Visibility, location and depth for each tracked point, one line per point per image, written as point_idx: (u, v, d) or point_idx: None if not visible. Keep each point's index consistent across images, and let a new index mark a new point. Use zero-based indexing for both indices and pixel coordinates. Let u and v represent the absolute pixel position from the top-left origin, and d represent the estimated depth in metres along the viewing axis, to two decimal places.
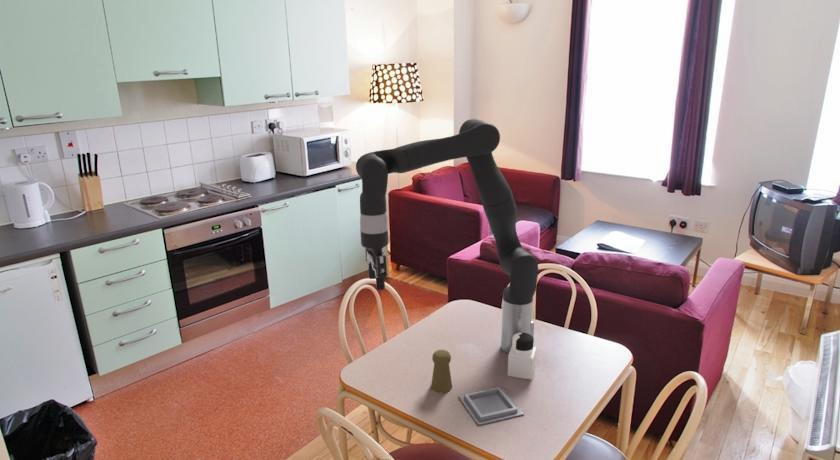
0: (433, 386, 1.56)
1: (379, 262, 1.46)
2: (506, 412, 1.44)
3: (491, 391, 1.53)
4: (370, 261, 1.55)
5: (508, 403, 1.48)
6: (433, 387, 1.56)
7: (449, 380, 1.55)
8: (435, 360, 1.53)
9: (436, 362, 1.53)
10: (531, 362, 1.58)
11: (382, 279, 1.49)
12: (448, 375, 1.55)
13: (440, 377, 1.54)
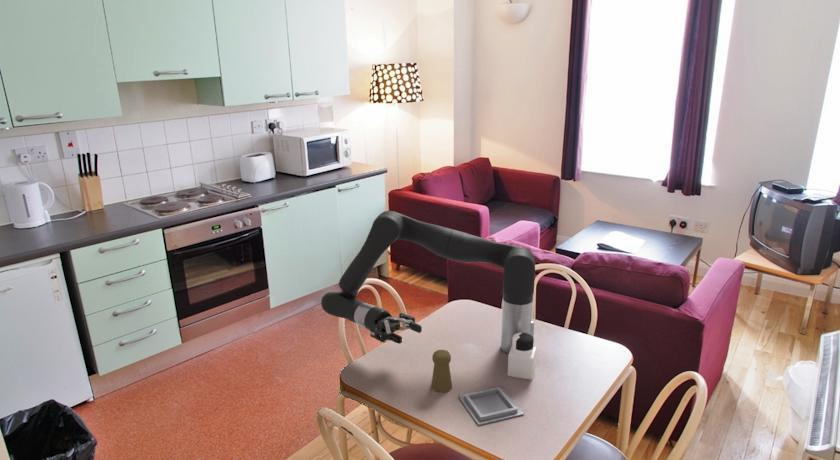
0: (433, 386, 1.56)
1: (372, 335, 1.62)
2: (506, 412, 1.44)
3: (491, 391, 1.53)
4: (404, 327, 1.67)
5: (508, 403, 1.48)
6: (433, 387, 1.56)
7: (449, 380, 1.55)
8: (435, 360, 1.53)
9: (436, 362, 1.53)
10: (531, 362, 1.58)
11: (390, 336, 1.59)
12: (448, 375, 1.55)
13: (440, 377, 1.54)
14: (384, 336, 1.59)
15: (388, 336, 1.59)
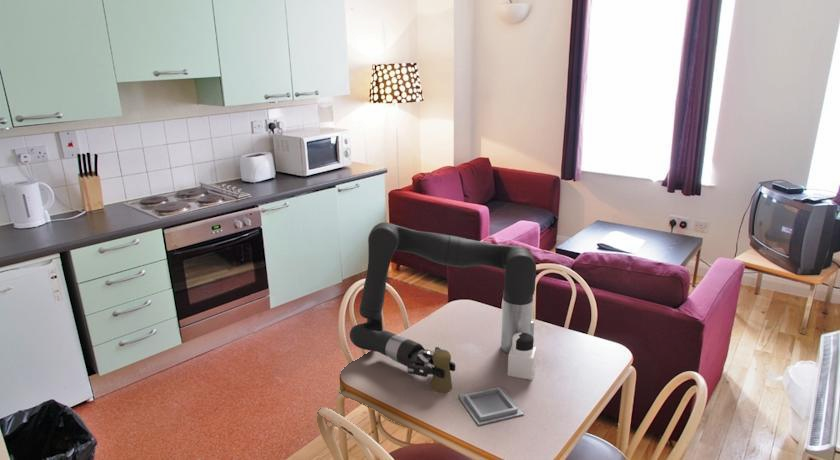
0: (433, 386, 1.56)
1: (411, 372, 1.55)
2: (506, 412, 1.44)
3: (491, 391, 1.53)
4: None
5: (508, 403, 1.48)
6: (433, 387, 1.56)
7: (449, 380, 1.55)
8: (435, 360, 1.53)
9: (436, 362, 1.53)
10: (531, 362, 1.58)
11: (433, 371, 1.53)
12: (448, 375, 1.55)
13: None
14: (426, 370, 1.53)
15: (430, 370, 1.54)
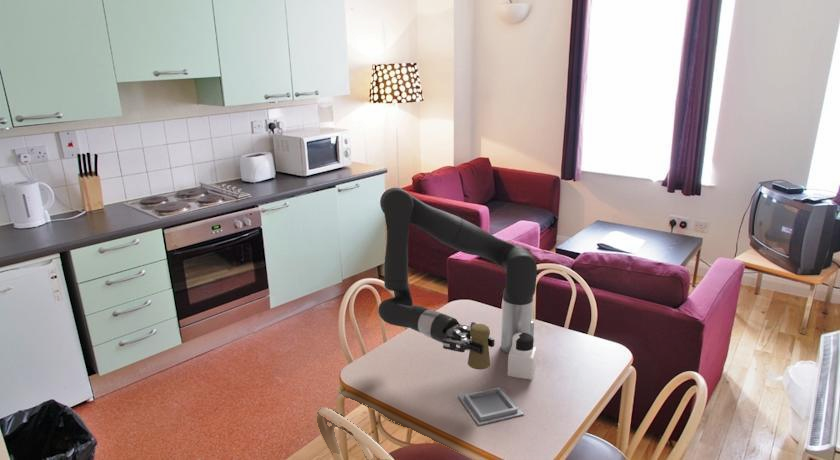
0: (470, 363, 1.45)
1: (447, 347, 1.44)
2: (506, 412, 1.44)
3: (491, 391, 1.53)
4: None
5: (508, 403, 1.48)
6: (470, 364, 1.45)
7: (488, 356, 1.45)
8: (473, 334, 1.42)
9: (474, 336, 1.42)
10: (531, 362, 1.58)
11: (470, 346, 1.43)
12: (487, 351, 1.44)
13: (478, 353, 1.43)
14: (464, 345, 1.43)
15: (468, 345, 1.43)
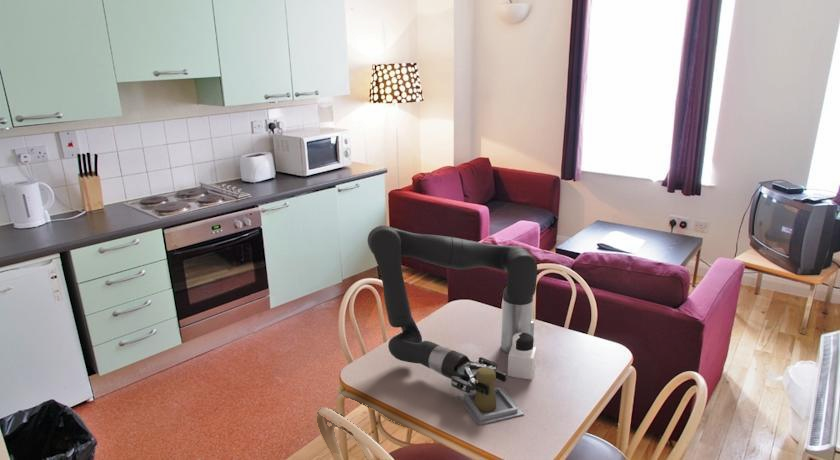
0: (476, 405, 1.46)
1: (455, 385, 1.46)
2: (506, 412, 1.44)
3: None
4: None
5: (508, 403, 1.48)
6: None
7: (494, 399, 1.46)
8: (479, 378, 1.43)
9: (480, 380, 1.43)
10: (531, 362, 1.58)
11: (476, 387, 1.43)
12: (493, 394, 1.45)
13: (484, 396, 1.44)
14: (470, 386, 1.43)
15: (474, 386, 1.44)
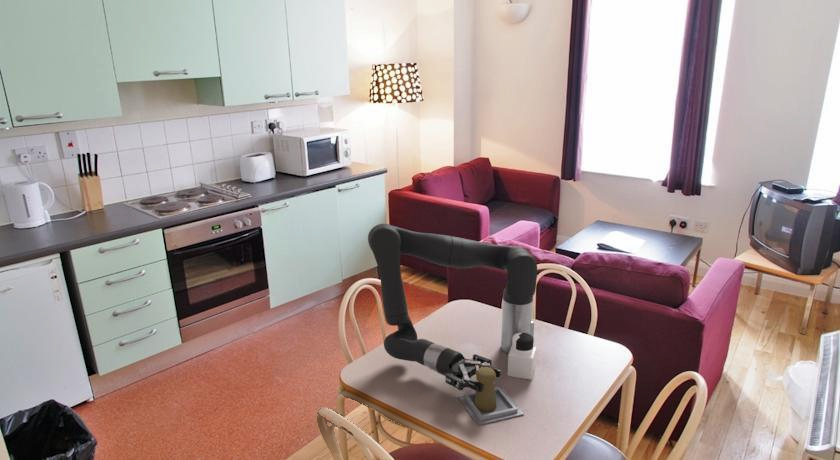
0: (477, 405, 1.46)
1: (448, 382, 1.47)
2: (506, 412, 1.44)
3: None
4: None
5: (508, 403, 1.48)
6: (477, 407, 1.46)
7: (494, 399, 1.46)
8: (479, 379, 1.43)
9: (480, 381, 1.43)
10: (531, 362, 1.58)
11: (469, 384, 1.44)
12: (493, 394, 1.45)
13: (484, 396, 1.44)
14: (463, 384, 1.44)
15: (467, 383, 1.44)
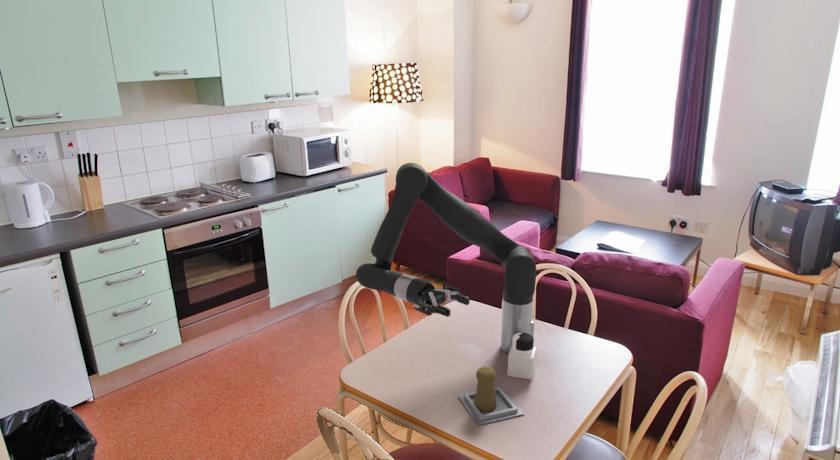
0: (477, 405, 1.46)
1: (417, 308, 1.49)
2: (506, 412, 1.44)
3: None
4: (449, 299, 1.54)
5: (508, 403, 1.48)
6: (477, 407, 1.46)
7: (494, 399, 1.46)
8: (480, 378, 1.43)
9: (481, 380, 1.43)
10: (531, 362, 1.58)
11: (437, 309, 1.46)
12: (493, 394, 1.45)
13: (484, 396, 1.44)
14: (431, 309, 1.46)
15: (435, 309, 1.46)
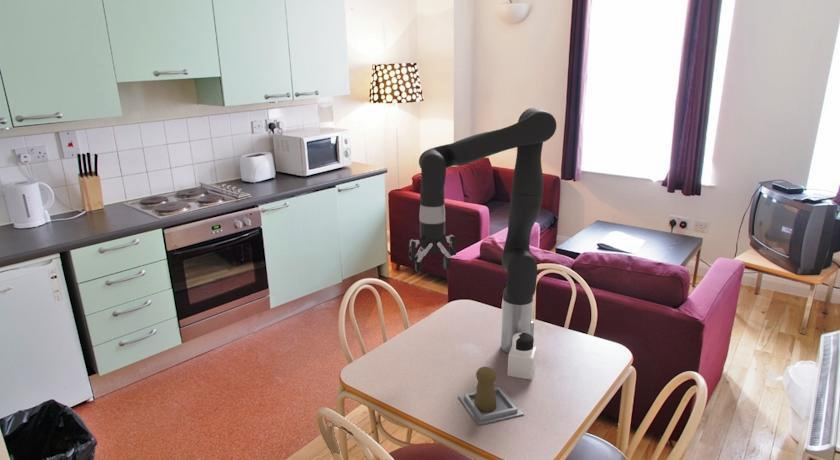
0: (477, 406, 1.46)
1: (409, 244, 1.62)
2: (506, 412, 1.44)
3: None
4: None
5: (508, 403, 1.48)
6: (477, 407, 1.46)
7: (494, 399, 1.46)
8: (480, 378, 1.43)
9: (481, 380, 1.43)
10: (531, 362, 1.58)
11: (416, 263, 1.63)
12: (493, 394, 1.45)
13: (484, 396, 1.44)
14: None
15: (415, 261, 1.63)
